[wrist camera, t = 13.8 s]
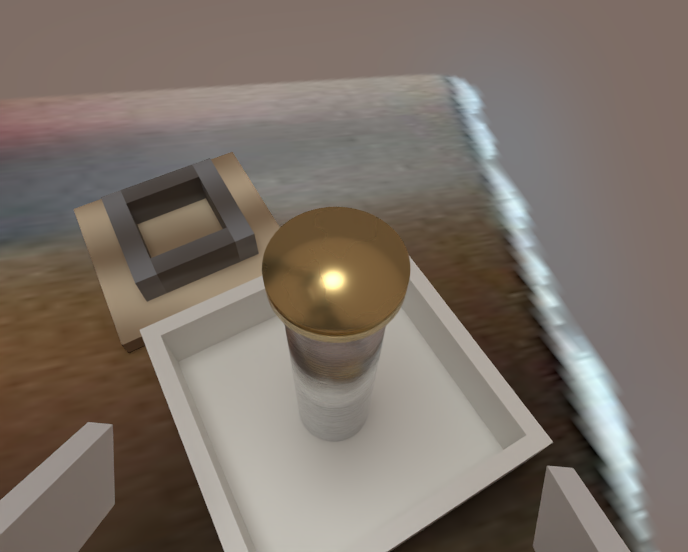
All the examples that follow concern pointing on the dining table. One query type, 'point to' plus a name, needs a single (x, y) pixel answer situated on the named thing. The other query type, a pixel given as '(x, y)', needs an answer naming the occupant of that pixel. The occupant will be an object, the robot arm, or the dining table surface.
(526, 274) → the dining table surface
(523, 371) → the dining table surface
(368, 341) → the gold-capped canister
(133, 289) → the canister holder base
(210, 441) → the tray
